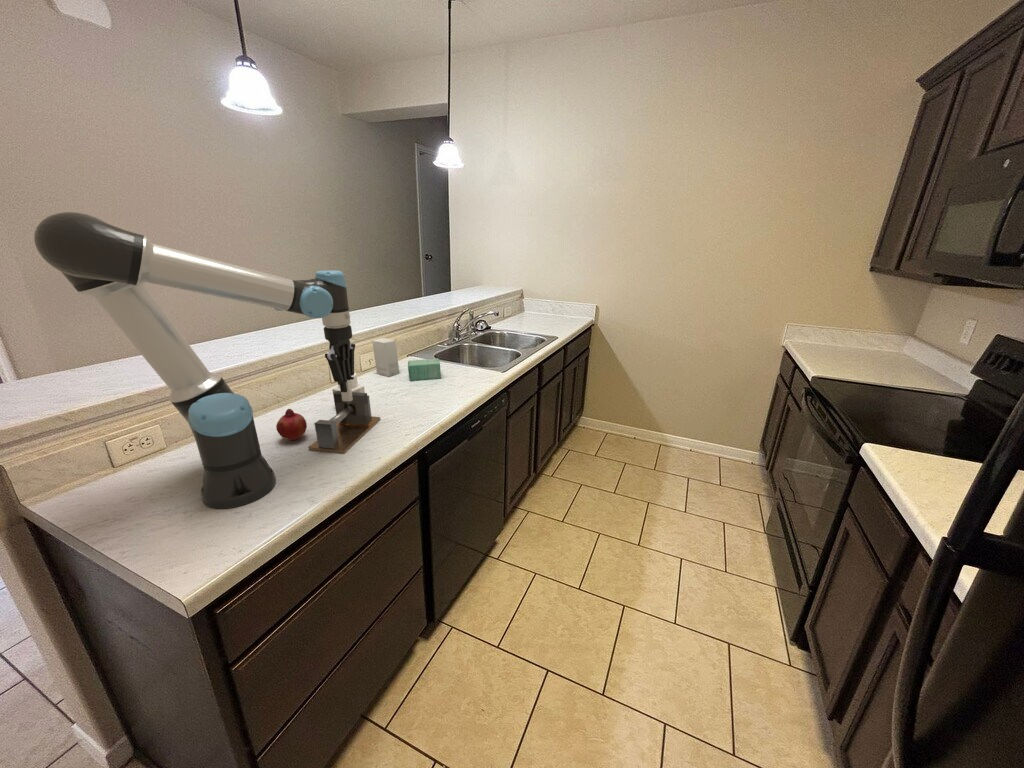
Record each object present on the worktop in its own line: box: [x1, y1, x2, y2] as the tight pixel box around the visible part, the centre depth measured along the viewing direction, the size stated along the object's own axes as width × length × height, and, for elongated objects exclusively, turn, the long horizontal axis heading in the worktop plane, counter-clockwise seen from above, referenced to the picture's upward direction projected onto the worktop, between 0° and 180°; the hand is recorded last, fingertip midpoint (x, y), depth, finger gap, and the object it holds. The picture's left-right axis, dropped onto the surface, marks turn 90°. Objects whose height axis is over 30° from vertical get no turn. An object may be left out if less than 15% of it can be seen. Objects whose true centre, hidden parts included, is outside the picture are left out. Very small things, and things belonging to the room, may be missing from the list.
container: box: [332, 371, 366, 404], centre depth 147 cm, size 8×8×13 cm
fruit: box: [275, 408, 308, 441], centre depth 124 cm, size 8×8×10 cm
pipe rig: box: [308, 394, 381, 455], centre depth 127 cm, size 23×11×9 cm, turn 171°
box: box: [407, 358, 442, 382], centre depth 178 cm, size 7×14×8 cm, turn 106°
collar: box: [332, 391, 370, 425], centre depth 131 cm, size 2×10×10 cm, turn 81°
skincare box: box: [371, 337, 400, 378], centre depth 181 cm, size 8×7×16 cm
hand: (347, 400), depth 128 cm, fingers closed
